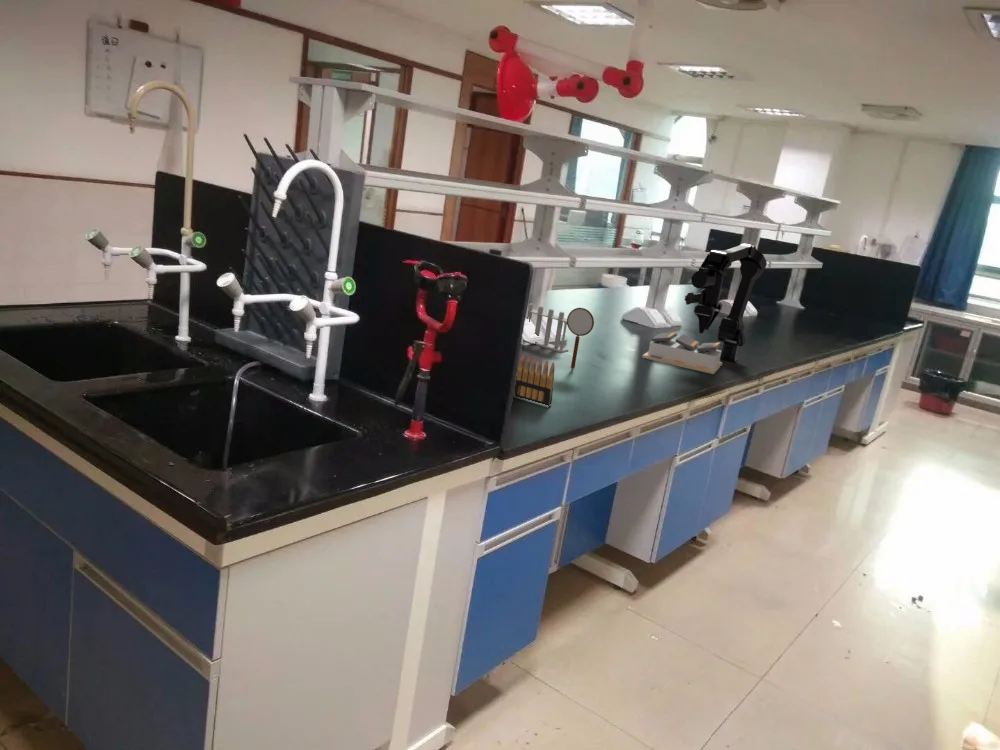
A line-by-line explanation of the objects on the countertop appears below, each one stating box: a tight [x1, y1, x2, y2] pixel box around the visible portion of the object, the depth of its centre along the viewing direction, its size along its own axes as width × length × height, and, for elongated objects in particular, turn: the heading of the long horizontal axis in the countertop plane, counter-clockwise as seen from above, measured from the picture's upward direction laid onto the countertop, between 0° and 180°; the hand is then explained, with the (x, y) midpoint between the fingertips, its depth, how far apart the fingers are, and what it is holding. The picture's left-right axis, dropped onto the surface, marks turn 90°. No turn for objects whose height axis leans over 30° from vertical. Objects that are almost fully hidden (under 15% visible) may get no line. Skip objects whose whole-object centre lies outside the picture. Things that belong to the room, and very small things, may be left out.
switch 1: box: [651, 332, 678, 342], centre depth 267 cm, size 12×6×1 cm, turn 155°
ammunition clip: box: [515, 353, 556, 406], centre depth 193 cm, size 11×2×12 cm, turn 62°
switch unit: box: [641, 339, 723, 375], centre depth 265 cm, size 18×25×6 cm
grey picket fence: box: [526, 302, 569, 354], centre depth 260 cm, size 25×4×13 cm, turn 51°
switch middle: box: [675, 334, 700, 350], centre depth 264 cm, size 12×6×1 cm, turn 155°
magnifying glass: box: [566, 307, 595, 372], centre depth 228 cm, size 9×2×20 cm, turn 63°
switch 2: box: [697, 341, 722, 351], centre depth 261 cm, size 12×6×1 cm, turn 155°
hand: (703, 331), depth 261 cm, fingers open, 9 cm apart
